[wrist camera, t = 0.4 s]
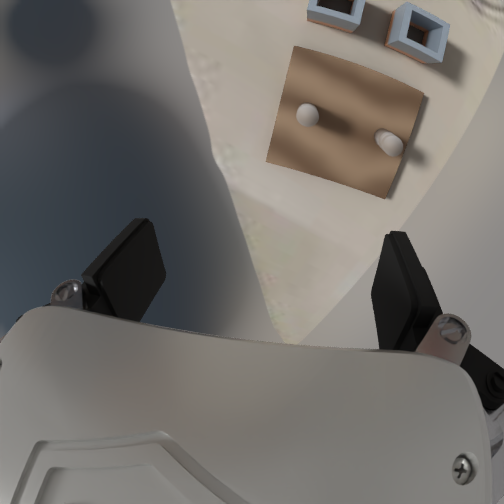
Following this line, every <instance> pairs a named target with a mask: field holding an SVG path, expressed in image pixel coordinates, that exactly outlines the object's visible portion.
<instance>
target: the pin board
mask: <svg viewBox="0 0 504 504" xmlns="http://www.w3.org/2000/svg"><path fill="white" fill-rule="evenodd" d="M423 95H424V93H423V92H421V91H419V90H417V89H415V88H413V87H411V86H409V85H407V84H404V83H402V82H400V81H398V80H396V79H393V78H391V77H389V76H386V75H384V74H382V73H379V72H377V71H374V70H372V69H369V68H366V67H364V66H361V65H358V64H355V63H353V62H350V61H347V60H344V59H341V58H337V57H334V56H331V55H328V54H324V53H321V52H317V51H313V50H310V49H306V48H302V47H298V46H294V48H293V52H292V56H291V60H290V64H289V68H288V72H287V77H286V81H285V85H284V89H283V93H282V97H281V101H280V105H279V109H278V113H277V117H276V121H275V126H274V130H273V134H272V138H271V142H270V146H269V150H268V155H267V159H266V162H268V163H272V164H276V165H280V166H283V167H287V168H291V169H294V170H298V171H301V172H304V173H308V174H311V175H315V176H318V177H321V178H324V179H327V180H331V181H334V182H337V183H340V184H343V185H346V186H349V187H352V188H355V189H358V190H361V191H363V192H366V193H369V194H372V195H375V196H377V197H380V198H383V199H385V198H386V196H387V193H388V191H389V189H390V186H391V184H392V182H393V179H394V177H395V174H396V172H397V169H398V167H399V164H400V162H401V159H402V156H403V154H404V151H405V148H406V146H407V143H408V140H409V138H410V135H411V132H412V129H413V126H414V123H415V120H416V117H417V114H418V111H419V108H420V105H421V102H422V98H423Z"/></svg>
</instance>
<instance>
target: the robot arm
mask: <svg viewBox="0 0 504 504" xmlns="http://www.w3.org/2000/svg"><path fill="white" fill-rule="evenodd" d="M81 276H82V278H83V280H84V283H83V284H81V282H80V281H79V280H75V279H73V280H68V281H65V282H63V283H61V284H60V285H59V286H57V287H56V289H55V290H54V291H53V293H52V296H51V303H49V304H47V305H45V306H42V307H38V308H35V309H32V310H30V311H28V312H26V313H25V314H24V315H21V316H20V317H19V318H18V319H17V321H16V323H15V325H14V326H13V327H12V328H11V329H10V331H9V332H8V333H7V334H6V335H4V336H3V337H2V338H0V504H496V503H497V502H498V501H499V500H500V499H501V498H502V497H503V496H504V369H503V368H502V367H500V366H499V365H498V364H496V363H495V362H493V361H492V360H491V359H490V358H488V357H487V356H486V355H484V354H483V353H482V352H480V351H479V350H478V349H476V348H475V347H473V346H472V345H471V344H469V343H470V340H471V331H470V329H469V327H468V325H467V324H466V322H465V321H464V320H462V319H461V318H460V317H458V316H456V315H453V314H443V312H442V310H441V307H440V305H439V302H438V300H437V297H436V294H435V292H434V289H433V287H432V285H431V282H430V280H429V278H428V275H427V273H426V271H425V269H424V268H423V267H422V266H421V264H420V261H419V259H418V257H417V255H416V253H415V251H414V249H413V246H412V244H411V242H410V240H409V238H408V236H407V234H406V233H405V232H401V231H391V232H390V234H386V235H385V238H384V242H383V246H382V251H381V255H380V259H379V263H378V267H377V271H376V275H375V278H374V282H373V286H372V291H371V298H372V304H373V310H374V315H375V321H376V328H377V335H378V342H379V349H358V348H337V347H321V346H307V345H294V344H282V343H273V342H264V341H254V340H246V339H238V338H230V337H222V336H216V335H209V334H202V333H196V332H190V331H184V330H178V329H173V328H167V327H161V326H156V325H151V324H146V323H141V322H140V320H141V319H142V317H143V315H144V314H145V312H146V310H147V309H148V307H149V305H150V304H151V301H152V300H153V299H154V297H155V295H156V294H157V292H158V290H159V289H160V287H161V286H162V284H163V282H164V281H165V278H166V271H165V268H164V264H163V261H162V257H161V253H160V250H159V246H158V242H157V238H156V234H155V230H154V226H153V223H152V222H150V221H149V219H147V218H145V219H144V218H135V219H134V220H133V221H132V222H131V223H130V224H129V225H128V226H127V227H126V228H125V229H124V230H123V231H122V232H121V233H120V234H119V235H118V236H117V237H116V238H115V239H114V240H113V241H112V242H111V243H110V244H109V245H108V246H107V247H106V248H105V249H104V250H103V251H102V252H101V254H100V255H99V256H98V257H97V258H96V259H95V260H94V261H93V262H92V263H91V264H90V266H89V267H88V268H87V269H86V270H85V271H84V272H83V273H82V275H81Z"/></svg>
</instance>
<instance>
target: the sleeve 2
mask: <svg viewBox="0 0 504 504" xmlns="http://www.w3.org/2000/svg"><path fill="white" fill-rule="evenodd" d="M409 25H411V26H413V27H415V28H417V29H419V30H421V31H423V32H424V37H423V41H422V45H421V44H419V43H417V42H415V41H413V40H411V39H408V38H406V37H407V32H408V28H409ZM449 28H450V24H448V23H446V22H445V21H443V20H441V19H439V18H438V17H436V16H434V15H432V14H430V13H429V12H427V11H425V10H423V9H421V8H419V7H417V6H415V5H413V4H411V3H409V2H406V3H404V4H403V5H401V6H400V7H398V8H397V9H396V10H394V11H393V12H392V16H391V21H390V25H389V29H388V33H387V37H386V41H385V45H384V46H386V47H389V48H391V49H393V50H396V51H398V52H400V53H402V54H404V55H407V56H409V57H411V58H413V59H415V60H417V61H419V62H421V63H442V60H443V56H444V52H445V47H446V43H447V38H448V33H449Z"/></svg>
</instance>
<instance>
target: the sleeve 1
mask: <svg viewBox="0 0 504 504" xmlns="http://www.w3.org/2000/svg"><path fill="white" fill-rule="evenodd" d="M348 1H351V2H352V6H351V10H350V14H349V15H348V14H345V13H341V12H338V11H335V10H331V9H328V8H324V7H320V6H318V3H319V0H309V4H308V8H307V21H311V22H315V23H319V24H322V25H326V26H330V27H333V28H336V29H340V30H343V31H346V32H349V33H352V32H353V31H354V30H355V29H356V28H357V27H358V26H359V25H360V21H361V17H362V13H363V9H364V4H365V0H348Z"/></svg>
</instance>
